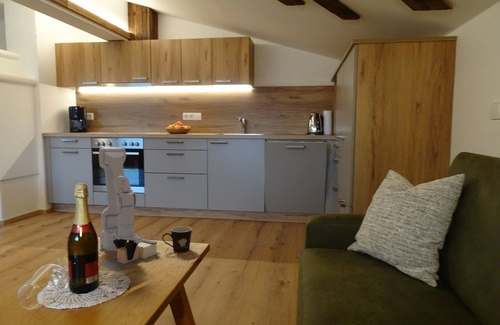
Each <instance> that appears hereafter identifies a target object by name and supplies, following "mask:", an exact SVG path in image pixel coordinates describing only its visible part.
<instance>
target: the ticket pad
mask: <svg viewBox="0 0 500 325" xmlns="http://www.w3.org/2000/svg"><path fill="white" fill-rule="evenodd" d="M141 239H142V242H141V243H139V244H138V246H139V258H142V259H145V258H147V257H150V256H152V255H155V254H157V252H158V251H157V245H158V242H157V241H154V240H150V239H145V238H142V237H141ZM145 260H146V259H145Z"/></svg>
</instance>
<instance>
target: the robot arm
mask: <svg viewBox="0 0 500 325" xmlns="http://www.w3.org/2000/svg"><path fill="white" fill-rule="evenodd" d="M126 158H127V152H126V149H125V147H124V146H122V147H117V146H116V147H112V146H111V147H109V146H108V147H106V146H105V147H100V148H99V150H98V162H99V167H100V168H102V169H103V170H104V175H105V186H106V187H105V188H106V189H105V190H106V202H107V207H106V208H105V209H104V210H103V211H102V212H101V213H100V227H101V229H102V230H101V232H100V233H99V247H100V248H99V250H105V251H108V252H115V251H117V249H119V248H122V247H126V250H127V259H128V260H131V259H133V257H134V253H135V250H136V247H137V246H138V244H139V243H141V242H142V239H143V238H142V237H141V236H139V235H137V234H136V233H135V216H134V215H135V207H136V204H137V196H136V193H135V191H134V190H133V189H132V188H131V187H132V186H131V184H130V180H129V177H127V176H125V171H124V170H125V169H124V163H125V162H126ZM141 238H142V239H141Z"/></svg>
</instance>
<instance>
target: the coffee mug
mask: <svg viewBox="0 0 500 325" xmlns="http://www.w3.org/2000/svg"><path fill="white" fill-rule="evenodd" d="M192 231H193V229H192V227H189V226H175V227H172V228H171V230H170V232H171V233H169V232H167V233H164V234H162V237H161V240H162V241H163V242H164V243H165V244H166V245H168V246H170V247H171V248H172V249H173V252H174V253H178V254H181V253H182V254H183V253H187V252H189V251H190V247H191V238H192ZM167 235H168V236H170V237H171V242H172V244H170V243H168V242H167V241H165V239H164V237H165V236H167Z"/></svg>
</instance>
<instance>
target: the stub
mask: <svg viewBox="0 0 500 325" xmlns="http://www.w3.org/2000/svg"><path fill="white" fill-rule="evenodd" d="M116 254H117V256H116V258H117V262H120V263H124V264H125V263H128V262H131V261H133V260H136V259H138V258H139V246H137V247H136V250H135V253H134V257H133V259H131V260H128V259H127V250H126V247H122V248H119V249H117V252H116Z"/></svg>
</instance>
